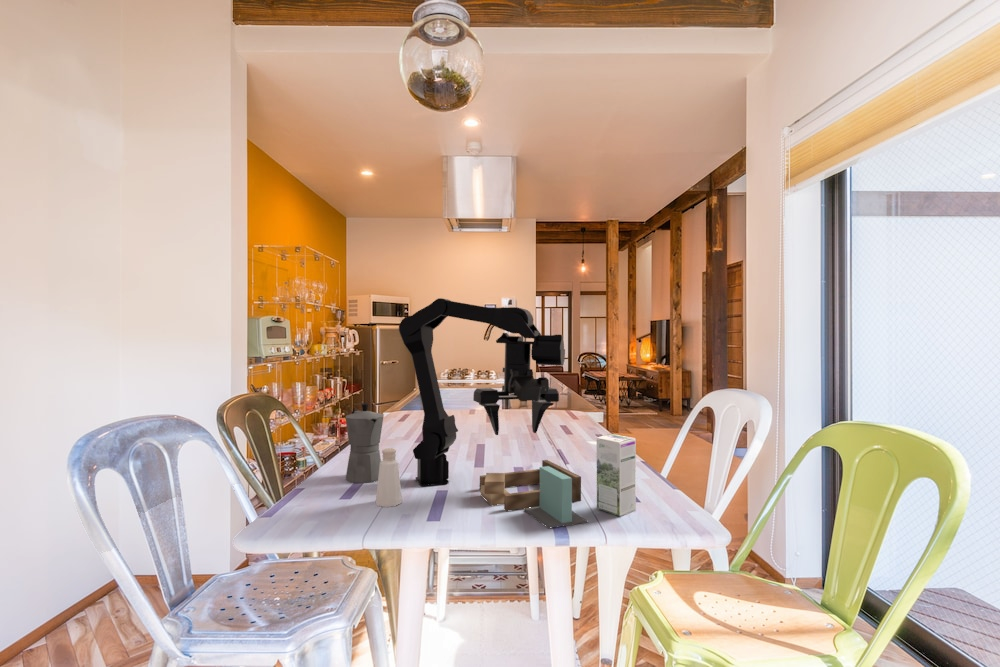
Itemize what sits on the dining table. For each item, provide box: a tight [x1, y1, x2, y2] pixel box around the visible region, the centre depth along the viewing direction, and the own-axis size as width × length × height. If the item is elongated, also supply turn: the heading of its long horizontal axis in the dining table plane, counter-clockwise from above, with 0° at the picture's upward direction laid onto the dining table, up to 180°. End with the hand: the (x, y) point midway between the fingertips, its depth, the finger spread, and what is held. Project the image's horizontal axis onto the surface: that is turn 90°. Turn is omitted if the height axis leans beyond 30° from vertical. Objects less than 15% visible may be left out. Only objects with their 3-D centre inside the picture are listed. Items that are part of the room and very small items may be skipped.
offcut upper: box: [485, 472, 506, 494], centre depth 105 cm, size 4×6×2 cm, turn 178°
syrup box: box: [596, 433, 637, 517], centre depth 99 cm, size 6×6×14 cm
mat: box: [524, 506, 588, 529], centre depth 95 cm, size 8×10×1 cm
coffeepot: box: [345, 402, 385, 484], centre depth 121 cm, size 15×9×18 cm, turn 35°
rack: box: [479, 459, 582, 512], centre depth 108 cm, size 17×15×5 cm
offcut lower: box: [480, 485, 511, 506], centre depth 105 cm, size 4×7×2 cm, turn 20°
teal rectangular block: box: [539, 466, 573, 523], centre depth 95 cm, size 2×9×8 cm, turn 23°
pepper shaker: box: [375, 447, 403, 508], centre depth 102 cm, size 5×5×11 cm
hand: (515, 433), depth 111 cm, fingers open, 9 cm apart
